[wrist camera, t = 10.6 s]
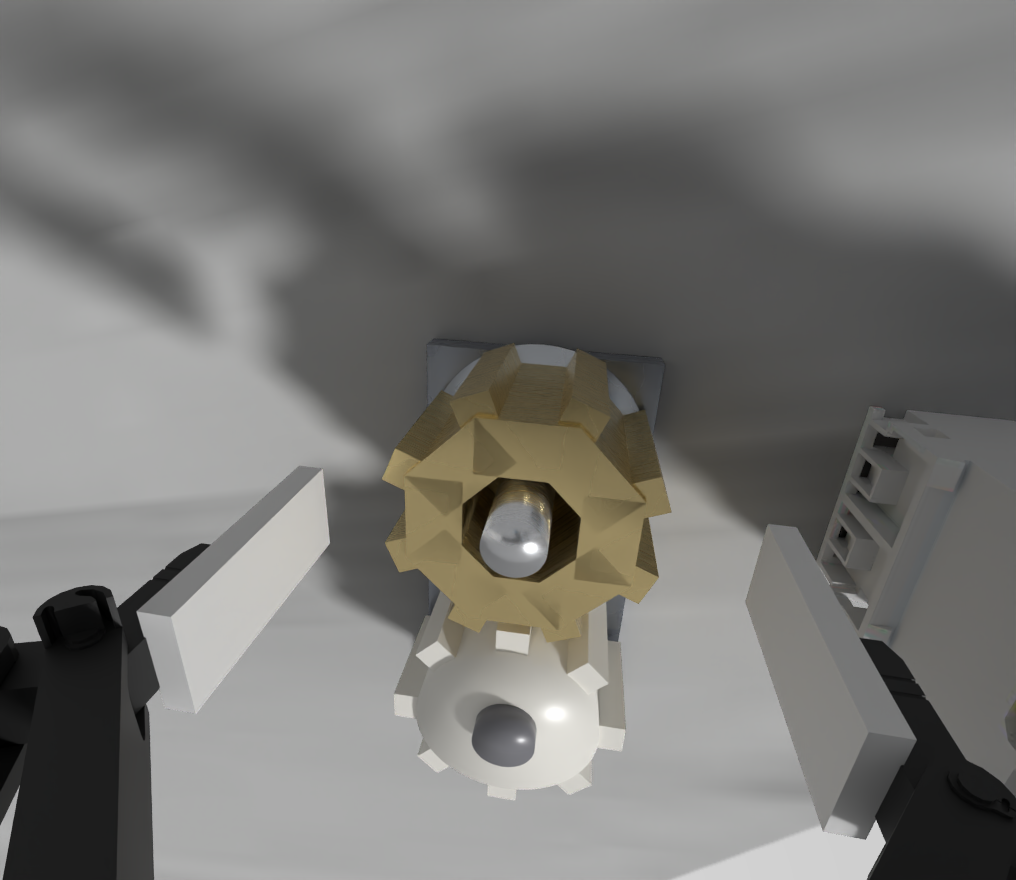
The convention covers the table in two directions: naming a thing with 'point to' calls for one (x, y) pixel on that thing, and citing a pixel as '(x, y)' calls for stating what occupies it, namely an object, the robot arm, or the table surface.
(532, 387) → the brass gear
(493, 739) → the gear
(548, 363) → the gear plate
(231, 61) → the table surface
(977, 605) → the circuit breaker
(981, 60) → the table surface
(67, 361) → the table surface
